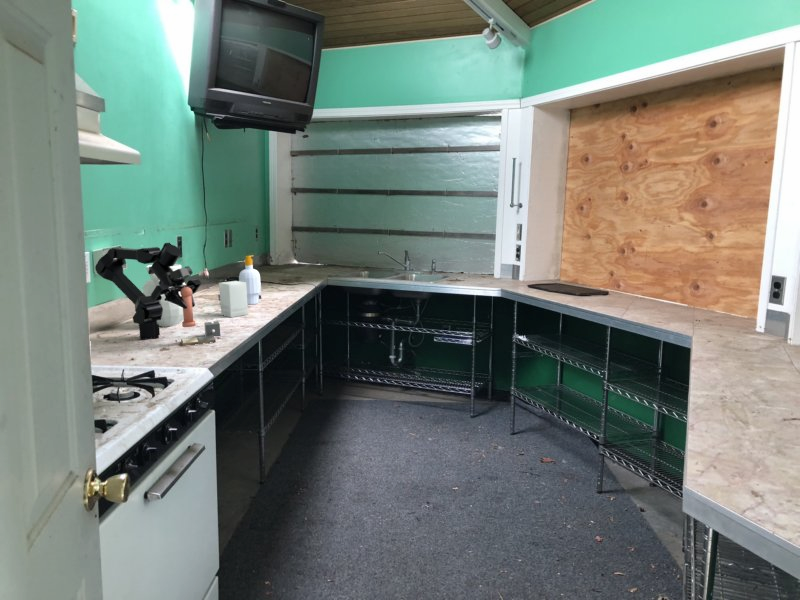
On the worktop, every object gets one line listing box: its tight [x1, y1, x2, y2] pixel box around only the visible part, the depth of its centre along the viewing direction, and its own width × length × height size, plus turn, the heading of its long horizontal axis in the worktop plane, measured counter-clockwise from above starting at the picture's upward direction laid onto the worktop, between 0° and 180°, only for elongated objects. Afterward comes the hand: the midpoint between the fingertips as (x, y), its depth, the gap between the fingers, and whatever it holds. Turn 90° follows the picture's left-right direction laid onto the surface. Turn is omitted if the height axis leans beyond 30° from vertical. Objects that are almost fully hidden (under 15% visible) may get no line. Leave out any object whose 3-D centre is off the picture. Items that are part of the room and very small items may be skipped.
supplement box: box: [218, 280, 249, 318], centre depth 245 cm, size 9×9×15 cm
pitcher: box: [141, 263, 186, 327], centre depth 227 cm, size 19×18×25 cm
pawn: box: [180, 287, 196, 328], centre depth 194 cm, size 4×4×14 cm
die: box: [204, 320, 221, 337], centre depth 207 cm, size 5×6×6 cm
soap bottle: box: [238, 255, 262, 306], centre depth 271 cm, size 10×10×24 cm
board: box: [180, 336, 217, 347], centre depth 198 cm, size 11×7×1 cm, turn 116°
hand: (190, 307), depth 194 cm, fingers closed on pawn, 3 cm apart
